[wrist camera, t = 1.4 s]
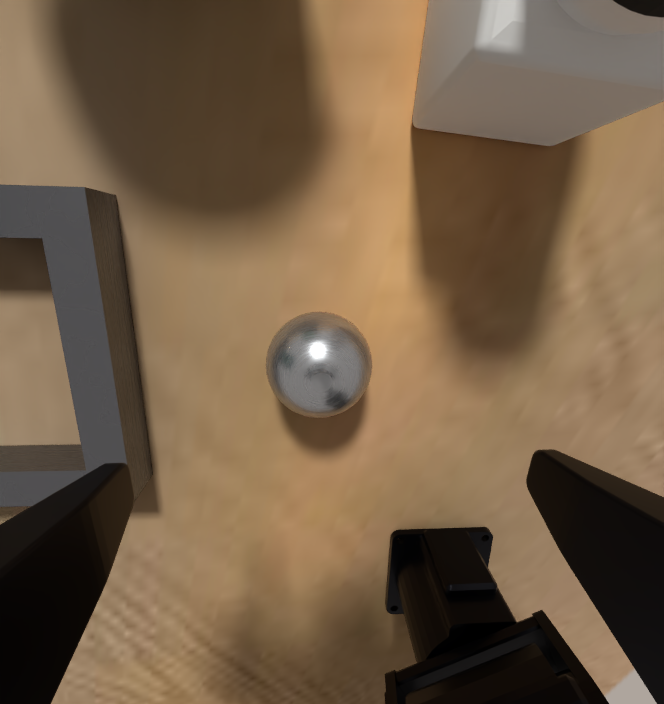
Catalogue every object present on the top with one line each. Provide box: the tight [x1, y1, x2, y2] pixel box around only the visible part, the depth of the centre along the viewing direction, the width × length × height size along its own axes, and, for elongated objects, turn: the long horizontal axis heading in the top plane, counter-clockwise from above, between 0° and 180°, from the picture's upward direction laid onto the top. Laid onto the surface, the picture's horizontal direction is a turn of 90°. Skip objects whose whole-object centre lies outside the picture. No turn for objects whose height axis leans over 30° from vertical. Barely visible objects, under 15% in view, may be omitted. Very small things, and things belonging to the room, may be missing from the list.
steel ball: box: [266, 312, 372, 418], centre depth 18 cm, size 5×5×5 cm
